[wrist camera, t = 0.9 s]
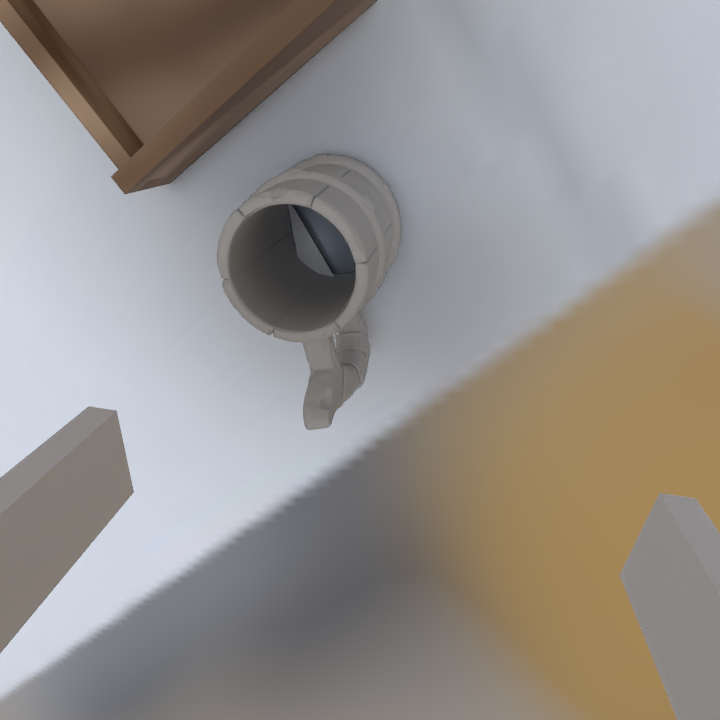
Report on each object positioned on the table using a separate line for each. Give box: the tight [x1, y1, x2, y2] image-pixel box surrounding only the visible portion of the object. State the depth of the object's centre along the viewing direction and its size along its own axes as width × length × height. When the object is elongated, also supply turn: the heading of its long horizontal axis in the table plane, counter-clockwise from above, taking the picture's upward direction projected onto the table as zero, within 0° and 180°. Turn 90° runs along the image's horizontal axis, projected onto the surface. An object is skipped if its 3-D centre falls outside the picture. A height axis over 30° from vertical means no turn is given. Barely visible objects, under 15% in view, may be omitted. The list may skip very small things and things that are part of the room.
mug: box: [217, 154, 401, 430], centre depth 23 cm, size 8×12×12 cm, turn 12°
